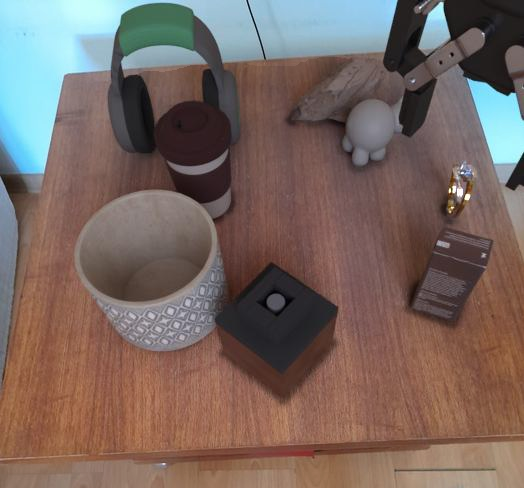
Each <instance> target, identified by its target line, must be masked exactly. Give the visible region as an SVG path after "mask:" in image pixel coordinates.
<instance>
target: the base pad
mask: <svg viewBox="0 0 524 488" xmlns="http://www.w3.org/2000/svg"><path fill="white" fill-rule="evenodd" d="M274 267H276V268H278V269H279V270H281V271H282V272H283V273H285V274H286V275H288V276H289V277H291V278H292V279H294V280H295V281H297V282H298V283H300V284H301V285H303V286H304V287H306V288H307V289H309V290H310V291H312V292H313V293H314V305H313V308H312V309H311V310H310V312H309V313H308V314H307V315H306V316H305V317H304V318H303V319H302V320H301V321H300V322H299V324H298V325H297V326H296V327H295V328H294V329H293V330H292V331H291V332H290V333H289V334H288V335H287V337H286V338H285V339H284V340H283V341H282V342H281V343H280V344H279V345H278V346H275V345H274V344H273V343H271V342H270V341H269V340H267V339H266V338H265V337H263V336H262V335H261V334H259V333H258V332H257V331H255V330H254V329H253V328H251V327H250V326H249V325H247V324H246V323H245V322H243V321H242V320H241V319H239V315H238V309H237V304H238V303H239V302H240V301H241V300H242V299H243V298H244V297H245V296H246V295H247V294H248V293H249V292H250V291H251V290H252V289H253V288H254V287H255V286H256V285H257V284H258V283H259V282H260V281H261V280H262V279H263V278H264V277H265V276H266V275H267V274H268V273H269V272H270V271H271V270H272V269H273V268H274ZM286 307H287V305H286V304H285V299H284V297H283V296H282V295H280V294H272V295H270V296H269V297H268V299H267V305H266V306H265V307H264V308H266V309H267V310H268V311H270V312H271V313H273V314H274V315H275V316H277V317H278V316H279V315H280V314H281V313H282V311H283V310H284V309H285V308H286ZM337 313H338V314H339V306H337V305H336V304H335V303H334V302H332V301H330V300H329V299H327V298H325V297H324V296H323V295H322V294H320V293H318V292H317V291H316V290H314V289H313V288H311V287H309V286H308V285H307V284H305V283H304V282H303V281H301V280H299V279H298V278H296V277H295V276H294V275H292V274H291V273H289V272H287V271H286V270H284V269H283V268H282V267H280V266H279V265H277V264H276V263H275V262H273V261H270V262H269V263H268V264H267V265H266V266H265V267H264V268H263V269H262V270H261V271H260V272H259V273H258V274H257V275H256V276H255V277H254V278H252V280H251V281H250V282H249V283H248V284H247V285H246V286H245V287H244V288H243V289H242V290H241V291H240V292H239V293H238V294H237V295H236V296H235V297H234V298H233V299H232V300H231V301H230V302H229V303H227V306H226V307H225V308H224V309H223V310H222V311H221V312H220V313H219V314H218V315H217V316H216V317H215V322H216V324H217V325H219V326H220V327H221V328H222V329H224V330H225V331H226V332H228V333H229V334H230V335H232V336H233V337H234V338H235V339H237V340H238V341H239V342H241V343H242V344H243V345H245V346H246V347H247V348H249V349H250V350H251V351H252V352H254V353H255V354H256V355H258V356H259V357H260V358H262V359H263V360H264V361H266V362H267V363H268V364H269V365H271V366H272V367H273V368H275V369H276V370H277V371H279V372H280V373H281V374H283V373H284V372H285V371H286V370H287V369H288V368H289V366H290V365H291V364H292V363H293V362H294V361H295V360H296V359H297V357H298V356H299V355H300V354H301V353H302V352H303V351H304V350H305V349H306V347H307V346H308V345H309V344H310V343H311V342H312V341H313V340H314V338H315V337H316V336H317V335H318V334H319V333H320V332H321V331H322V329H323V328H324V327H325V326H326V325H327V324H328V323H329V322H330V321H331V319H332V318H333V317H334V316H335V315H336V314H337ZM338 314H337V315H338Z"/></svg>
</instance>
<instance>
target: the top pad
mask: <svg viewBox="0 0 524 488" xmlns="http://www.w3.org/2000/svg"><path fill="white" fill-rule="evenodd" d="M272 294H280V295H282V296H283V297H284V299H285V304H286V305H287V307H286V308H285V309H284V310H283V311H282V313H281V314H280V315H279V316H278V317H277V316H275V315H274V314H273V313H271V312H270V311H268V310H267V309H266V308H264V307H265V306H266V305H267V299H268V297H269V296H270V295H272ZM313 305H314V293H313V292H312V291H310V290H309V289H307V288H306V287H304V286H303V285H301V284H300V283H298V282H297V281H295V280H294V279H292V278H291V277H289V276H288V275H286V274H285V273H283V272H282V271H281V270H279V269H278V268H276V267H274V268H273V269H272V270H271V271H270V272H269V273H268V274H267V275H266V276H265V277H264V278H263V279H262V280H261V281H260V282H259V283H258V284H257V285H256V286H255V287H254V288H253V289H252V290H251V291H250V292H249V293H248V294H247V295H246V296H245V297H244V298H243V299H242V300H241V301H240V302H239V303H238V304H237V309H238V315H239V319H241V320H242V321H243V322H245V323H246V324H247V325H249V326H250V327H251V328H253V329H254V330H255V331H257V332H258V333H259V334H261V335H262V336H263V337H265V338H266V339H267V340H269V341H270V342H271V343H273V344H274V345H275V346H278V345H279V344H280V343H281V342H282V341H283V340H284V339H285V338H286V337H287V335H288V334H289V333H290V332H291V331H292V330H293V329H294V328H295V327H296V326H297V325H298V324H299V322H300V321H301V320H302V319H303V318H304V317H305V316H306V315H307V314H308V313H309V312H310V310H311V309H312V308H313Z"/></svg>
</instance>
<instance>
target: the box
mask: <svg viewBox="0 0 524 488" xmlns="http://www.w3.org/2000/svg"><path fill="white" fill-rule="evenodd" d="M493 245H494V240H493V239H490V238H486V237H482V236H478V235H476V234H472V233H468V232H465V231H461V230H457V229H455V228H452V227H448V226H444V225H443V226H441V229H440V230H439V233H438V235H437V237H436V241H435V243H434V245H433V248H432V251H431V252H430V255H429V258H428V260H427V263H426V265H425V267H424V270H423V272H422V275H421V277H420V279H419V282H418V284H417V287H416V289H415V293H414V295H413V298H412V301H411V303H410V307H409V308H410V309H412V310H415V311H418V312H420V313H424V314H426V315H431V316H433V317H436V318H439V319H442V320H444V321H445V320H446V321H448V322H452V323H454V322H455V320H456V318H457V317H458V315H459V313H460V312H461V310H462V309H463V308H464V305H465V304H466V302H467V300H468V299H469V297H470V296H471V294H472V292H473V290H475V287H476V286H477V284H478V282H479V281H480V279H481V277H482V276H483V274H484V273H485V271H486V270H487V268H488V264H489V260H490V258H491V257H490V256H491V252H492V248H493Z"/></svg>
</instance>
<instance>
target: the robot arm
mask: <svg viewBox="0 0 524 488" xmlns="http://www.w3.org/2000/svg"><path fill="white" fill-rule="evenodd" d="M440 3H442V8H443V14H444V18H445V22H446V26H447V30H448V33H449V38H447V39H446V40H445V41H444V42H442V43H441V44H439V46H437V47H436V48H434V49H433V50H431V51H430V52H429V53H428V54H425V53H424V52H423V51H422V50H421V49H420V48H419V47H420V43H421V40H422V37H423V33H424V30H425V27H426V23H427V20H428V17H429V14H430V13H431V12H432V11H433V10H435V8H437V7H438V5H439V4H440ZM382 64H383V67H384V69H385V70H386V71H387V72H389V73H395V72H396V73H398V74H399V75H400V77H402V79H403V80H402V81H403V85H404V91H403V95H404V96H403V95H402V96H403V100H402V104H401V108H400V113H399V124H401V125H402V126H403V128H402V132H401V133H400V134H401V135H403V136H405V137H407V138H410V139H411V138H412V137H413V136H414V135H415V134H416V133H417V132H418V131H419V130H420V129H421V128H422V126H423V125H424V123H425V121H426V118H427V115H428V112H429V109H430V106H431V103H432V99H433V96H434V92H435V88H436V85H437V82H438V77H440V76H442V75H443V74H444V73H446V72H448V71H449V70H450V69H451V68H453V67H454V66H456V65H458V67H459V68H460V69H461V70H462V72H463V74H462V77H464V78H466V79H468V80H470V81H473V82H477V83H485V84H487V85H488V86H489V87H490V88H492V89H493V91H495V92H497V93H499V94H501V95H503V96H506V97H509V96H511V94H515V97H516V101H517V105H518V110H519V114H520V118H521V120H522V121H523V122H524V0H397V1H396V5H395V9H394V13H393V17H392V21H391V25H390V29H389V34H388V38H387V42H386V45H385V50H384V55H383V59H382ZM519 186H521V187H524V151H523V152H522V154H521V156H520V158H519V159H518V161H517V163H516V165H515V167H514V169H513V171H512V172H511V174H510V176H509V178H508V179H507V181H506V183H505V185H504V187H506V188H507V189H509V190H511V191H513V192H515V191H516V190H517V188H518V187H519Z"/></svg>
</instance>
